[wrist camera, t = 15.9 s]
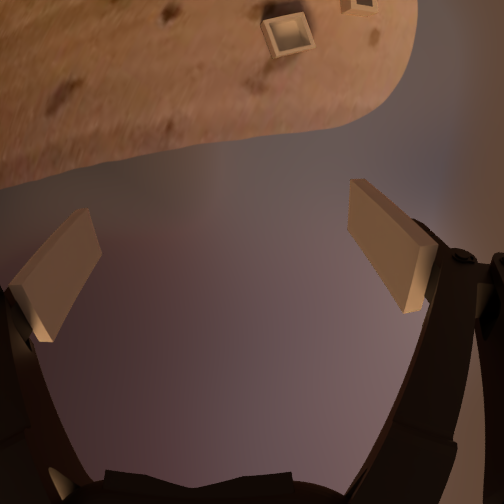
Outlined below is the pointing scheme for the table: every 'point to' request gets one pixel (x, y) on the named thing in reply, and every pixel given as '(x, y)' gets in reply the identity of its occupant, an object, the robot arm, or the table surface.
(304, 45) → the beige tub
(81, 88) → the table surface
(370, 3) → the cream boxy hollow piece
